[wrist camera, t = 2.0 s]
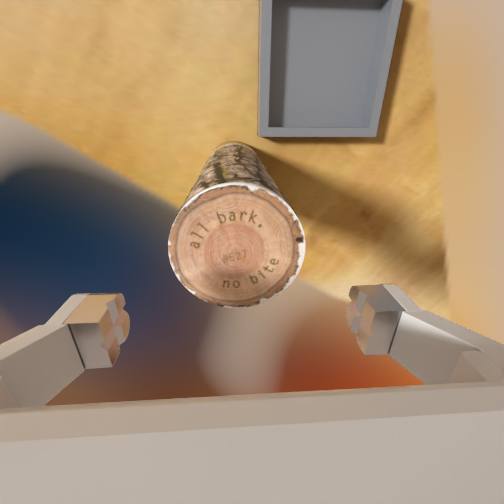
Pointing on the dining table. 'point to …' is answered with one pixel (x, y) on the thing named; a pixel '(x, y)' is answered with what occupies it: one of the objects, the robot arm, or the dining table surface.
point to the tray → (324, 66)
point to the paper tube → (236, 232)
